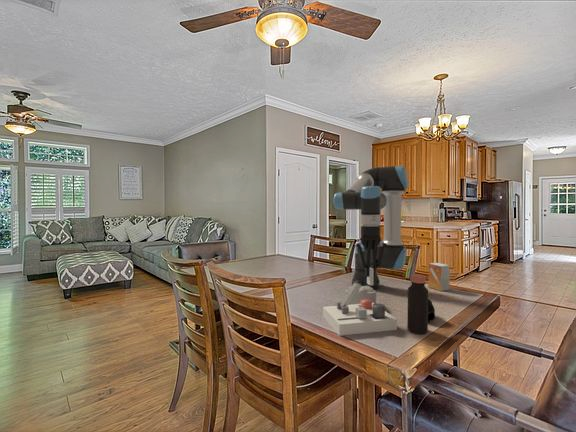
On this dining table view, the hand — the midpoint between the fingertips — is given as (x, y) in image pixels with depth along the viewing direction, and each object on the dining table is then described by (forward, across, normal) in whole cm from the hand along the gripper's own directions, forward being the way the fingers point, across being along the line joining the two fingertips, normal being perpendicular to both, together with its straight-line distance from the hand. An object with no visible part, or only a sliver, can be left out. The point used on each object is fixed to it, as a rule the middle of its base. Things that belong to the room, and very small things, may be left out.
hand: (370, 284), depth 121 cm
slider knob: (+9, -8, -9) cm, 15 cm away
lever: (+8, -12, -1) cm, 14 cm away
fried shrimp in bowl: (+14, +21, -2) cm, 25 cm away
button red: (+13, -1, +1) cm, 13 cm away
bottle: (+14, +11, -15) cm, 23 cm away
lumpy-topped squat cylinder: (+14, +2, +14) cm, 20 cm away
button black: (+11, -1, -9) cm, 14 cm away
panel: (+14, -7, -4) cm, 16 cm away
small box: (+14, +54, +30) cm, 63 cm away
